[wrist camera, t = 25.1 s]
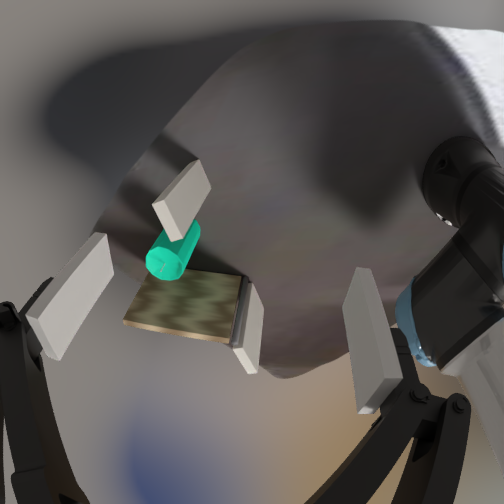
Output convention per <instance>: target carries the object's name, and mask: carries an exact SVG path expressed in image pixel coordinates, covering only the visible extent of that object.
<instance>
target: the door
mask: <svg viewBox="0 0 504 504" xmlns="http://www.w3.org/2000/svg"><path fill="white" fill-rule="evenodd" d="M240 283H241V276H236V275H228V274H220V273H213V272H205V271H197V270H190V269H185V270H184V272H183V274H182V275H181V276H180V278H179V279H175V280H171V281H169V280H161V279H159V278H157V277H156V276H154V275H152V274H151V272H150V271H149V273H148V275H147V277H146V278H145V280H144V282H143V284H142V285H141V287H140V289H139V291H138V293H137V294H136V296H135V298H134V300H133V302H132V303H131V305H130V307H129V309H128V311H127V313H126V315H125V316H124V318H123V322H124V325H128V326H133V327H137V328H142V329H147V330H152V331H157V332H162V333H167V334H173V335H178V336H184V337H190V338H196V339H202V340H208V341H215V342H221V343H228V344H229V339H230V334H231V329H232V323H233V318H234V313H235V308H236V303H237V298H238V293H239V288H240Z"/></svg>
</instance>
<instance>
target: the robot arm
mask: <svg viewBox="0 0 504 504" xmlns="http://www.w3.org/2000/svg"><path fill="white" fill-rule="evenodd" d="M423 192H424V196H425V200H426V202H427V204H428V206H429V207H430V209H431V210H432V211H433V212H434V214H435V215H436V216H437V217H438V218H439V219H440V220H442V221H443V222H445V223H447V224H449V225H452V226H454V227H456V228H459V230H458V231H457V232H456V234H455V235H454V236H453V237H452V238H451V239H450V240H449V242H448V243H447V244H446V245H445V246H444V247H443V248H442V250H441V251H440V252H439V253H438V254H437V255H436V256H435V257H434V258H433V259H432V260H431V262H430V263H429V264H428V265H427V266H426V267H425V268H424V269H423V270H422V271H421V272H420V273H419V274H418V275H416V276H415V277H413V279H412V280H411V282H410V284H409V285H408V286H407V287H406V289H405V290H404V291H403V292H402V293H401V294H400V295H399V297H398V299H397V302H396V309H395V316H396V322H397V325H398V328H389V324H388V321H387V318H386V315H385V311H384V308H383V305H382V302H381V299H380V296H379V293H378V290H377V287H376V284H375V281H374V278H373V275H372V272H371V269H368V268H360V267H356V270H355V273H354V276H353V279H352V281H351V284H350V287H349V290H348V292H347V295H346V298H345V301H344V303H343V306H342V310H343V315H344V321H345V327H346V333H347V339H348V346H349V352H350V359H351V366H352V373H353V380H354V388H355V396H356V404H357V413H358V414H374V413H375V412H376V410H377V409H378V408H379V407H380V412H381V415H380V416H379V418H378V419H377V420H376V421H375V422H374V423H373V424H372V427H371V429H370V430H369V431H368V432H367V434H366V435H365V436H364V437H363V439H362V440H361V441H360V443H359V444H358V445H357V446H356V448H355V449H354V450H353V451H352V452H351V454H350V455H349V456H348V457H347V458H346V460H345V461H344V462H343V463H342V464H341V465H340V467H339V468H338V469H337V470H336V471H335V472H334V473H333V474H332V475H331V477H330V478H329V479H328V480H327V481H326V482H325V483H324V484H323V485H322V486H321V487H320V488H319V489H318V490H317V491H316V492H315V493H314V495H312V496H311V497H310V498H309V499H308V500H307V501H306V502H305V503H304V504H366V503H367V502H368V501H369V499H370V498H371V497H372V495H373V494H374V493H375V492H376V490H377V489H378V488H379V486H380V485H381V483H382V482H383V481H384V479H385V478H386V476H387V475H388V474H389V472H390V471H391V469H392V468H393V466H394V465H395V463H396V461H397V460H398V459H399V457H400V456H401V454H402V453H403V451H404V449H405V448H406V446H407V444H408V443H409V441H410V440H411V438H412V437H414V440H413V443H412V447H411V450H410V453H409V456H408V459H407V463H406V465H405V468H404V471H403V474H402V477H401V480H400V482H399V485H398V487H397V490H396V492H395V495H394V497H393V500H392V502H391V504H453V502H454V499H455V495H456V491H457V488H458V484H459V480H460V475H461V471H462V466H463V461H464V456H465V451H466V445H467V438H468V432H469V425H470V415H471V405H472V407H473V409H474V411H475V414H476V416H477V418H478V420H479V422H480V424H481V426H482V428H483V430H484V432H485V434H486V437H487V439H488V441H489V443H490V446H491V448H492V450H493V453H494V455H495V458H496V460H497V462H498V465H499V467H500V470H501V472H502V475H503V477H504V309H503V307H502V305H503V304H504V169H503V168H502V167H501V166H500V164H499V163H498V162H497V161H496V159H495V157H494V156H493V154H492V153H491V151H490V150H489V149H488V148H487V147H486V146H484V145H483V144H481V143H480V142H478V141H476V140H474V139H472V138H468V137H455V138H451V139H449V140H447V141H445V142H444V143H442V144H441V145H440V146H439V147H438V148H437V149H436V150H435V151H434V152H433V154H432V155H431V157H430V158H429V160H428V162H427V165H426V168H425V171H424V176H423ZM113 275H114V271H113V267H112V261H111V256H110V251H109V245H108V240H107V234H105V233H98V232H95V233H94V234H93V235H92V236H91V237H90V238H89V239H88V240H87V241H86V242H85V243H84V245H83V246H82V247H81V248H80V249H79V250H78V251H77V253H75V255H74V256H73V257H72V258H71V259H70V260H69V261H68V262H67V264H66V265H65V266H64V267H63V268H62V270H61V271H60V272H59V273H58V274H57V275H56V276H55V278H52V277H50V278H49V279H47V280H46V281H45V282H43V283H42V284H41V285H40V287H39V288H38V289H37V291H36V292H35V293H34V294H33V297H31V298H30V299H29V300H28V302H27V303H26V304H25V305H24V307H23V308H22V309H21V311H20V312H19V313H17V310H16V308H15V306H14V304H13V303H12V302H8V301H6V302H2V303H0V504H5V485H4V470H3V425H4V418H5V424H6V430H7V435H8V441H9V446H10V450H11V455H12V459H13V463H14V467H15V472H14V473H13V474H12V475H11V483H12V487H13V490H14V493H15V497H16V500H17V503H18V504H90V503H89V500H88V499H87V497H86V495H85V494H84V492H83V491H82V490H81V488H80V487H79V485H78V484H77V482H76V479H75V477H74V474H73V472H72V469H71V466H70V464H69V461H68V458H67V455H66V452H65V449H64V446H63V444H62V440H61V437H60V434H59V431H58V427H57V424H56V420H55V416H54V413H53V409H52V405H51V400H50V396H49V392H48V387H47V382H46V377H45V372H44V367H43V362H42V357H41V355H40V352H41V351H42V349H43V350H44V351H45V353H46V355H47V357H50V358H53V359H55V360H58V361H60V360H61V358H62V356H63V354H64V353H65V351H66V349H67V347H68V346H69V344H70V342H71V341H72V339H73V337H74V336H75V334H76V332H77V331H78V329H79V327H80V326H81V324H82V323H83V321H84V319H85V318H86V316H87V314H88V313H89V311H90V310H91V308H92V307H93V305H94V304H95V302H96V300H97V299H98V298H99V296H100V294H101V293H102V291H103V290H104V288H105V287H106V286H107V284H108V283H109V281H110V280H111V278H112V277H113ZM411 354H412V355H415V356H416V359H417V361H418V362H420V363H421V364H422V365H424V366H428V367H431V366H436V365H437V366H438V368H439V370H440V372H441V373H442V374H446V375H452V376H455V377H457V379H458V381H459V383H460V384H461V386H462V388H463V390H464V392H465V394H466V396H467V398H468V399H467V398H466V397H465V396H464V395H462V394H459V393H454V394H452V395H451V396H450V397H449V398H448V399H445V398H442V397H438V396H434V395H431V393H430V391H429V389H428V388H427V387H426V386H425V385H424V384H421V383H420V381H419V378H418V374H417V371H416V367H415V364H414V360H413V357H412V355H411ZM470 404H471V405H470Z"/></svg>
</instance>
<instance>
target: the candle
mask: <svg viewBox="0 0 504 504" xmlns="http://www.w3.org/2000/svg"><path fill="white" fill-rule="evenodd" d="M199 237H200V226H199V225H198V223H197V221H196V220H195V219H193V221H192V223H191V225H190V227H189V228H188V230H187V232H186V234H185V236H184V238H183V239H179V240H176V241H173V242H171V241H170V239H169V237H168V235H167V233H166V231H165V229H163V231H162V232H161V234H160V235H159V237H158V238H157V240H156V241H155V243H154V244H153V246H152V247H151V249H150V250H149V252H148V254H147V256H146V267H147V269H148V270H149V271H150V272H151V274H152V275H154V276H156V277H157V278H159V279H161V280H169V281H171V280H175V279H179V278H180V276H181V275H182V274H183V272H184V270H185V268H186V265H187V263H188V261H189V259H190V257H191V254H192V252H193V250H194V248H195V246H196V243H197V241H198V239H199Z"/></svg>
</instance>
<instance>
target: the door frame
mask: <svg viewBox="0 0 504 504" xmlns="http://www.w3.org/2000/svg"><path fill="white" fill-rule="evenodd" d="M210 190H211V186H210V184H209V181H208V179H207V177H206V174H205V172H204V169H203V167H202V165H201V162H200V160H196V161H193V162H190V163H189V164H188V165H187V166H186V167H185V168H184V169H183V170H182V172H181V173H180V174H179V175H178V176H177V177H176V178H175V179H174V180H173V181H172V182H171V183H170V184H169V186H168V187H167V188H166V189H165V190H164V191H163V192H162V193H161V194H160V196H159V197H158V198H157V199H156V200H155V201H154V202H153V204H152V206H153V208H154V210H155V212H156V214H157V216H158V218H159V220H160V221H161V223H162V225H163V227H164V229H165V231H166V233H167V235H168V237H169V239H170V241H171V242H173V241H176V240H179V239H183V238H184V236H185V234H186V232H187V230H188V228H189V227H190V225H191V223H192V221H193V219H194V218H195V216H196V214H197V212H198V211H199V209H200V207H201V205H202V204H203V202H204V200H205V198H206V197H207V195H208V193H209V191H210ZM248 281H249V277H247V276H245V277H244V278H243V283H242V288H241V293H240V299H239V304H238V309H237V314H236V320H235V325H234V330H233V335H232V341H231V344H232V345H233V351H234V352H235V354H236V355H237V357H238V359H239V360H240V362H241V363H242V365H243V366H244V368H245V370H246V371H247V373H248V374H252V373H257V372H258V364H259V354H260V344H261V334H262V324H263V314H264V307H263V305H262V303H261V301H260V298H259V296H258V294H257V292H256V289H255V287H254V285H253V282H252V283H248Z"/></svg>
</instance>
